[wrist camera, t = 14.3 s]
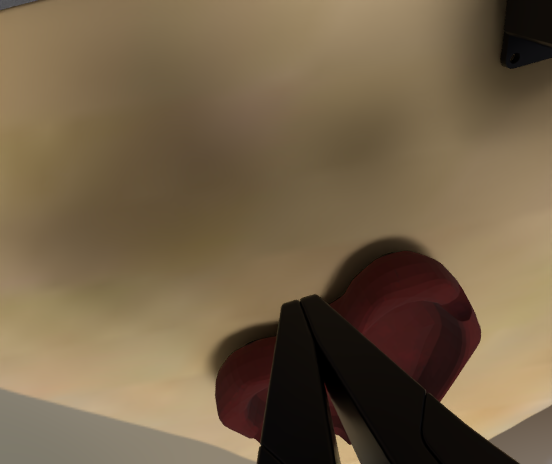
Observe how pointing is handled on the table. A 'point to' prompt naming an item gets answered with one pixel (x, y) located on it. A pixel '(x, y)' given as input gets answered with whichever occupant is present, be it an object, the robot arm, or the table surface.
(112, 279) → the table surface
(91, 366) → the table surface
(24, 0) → the mat
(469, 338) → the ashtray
